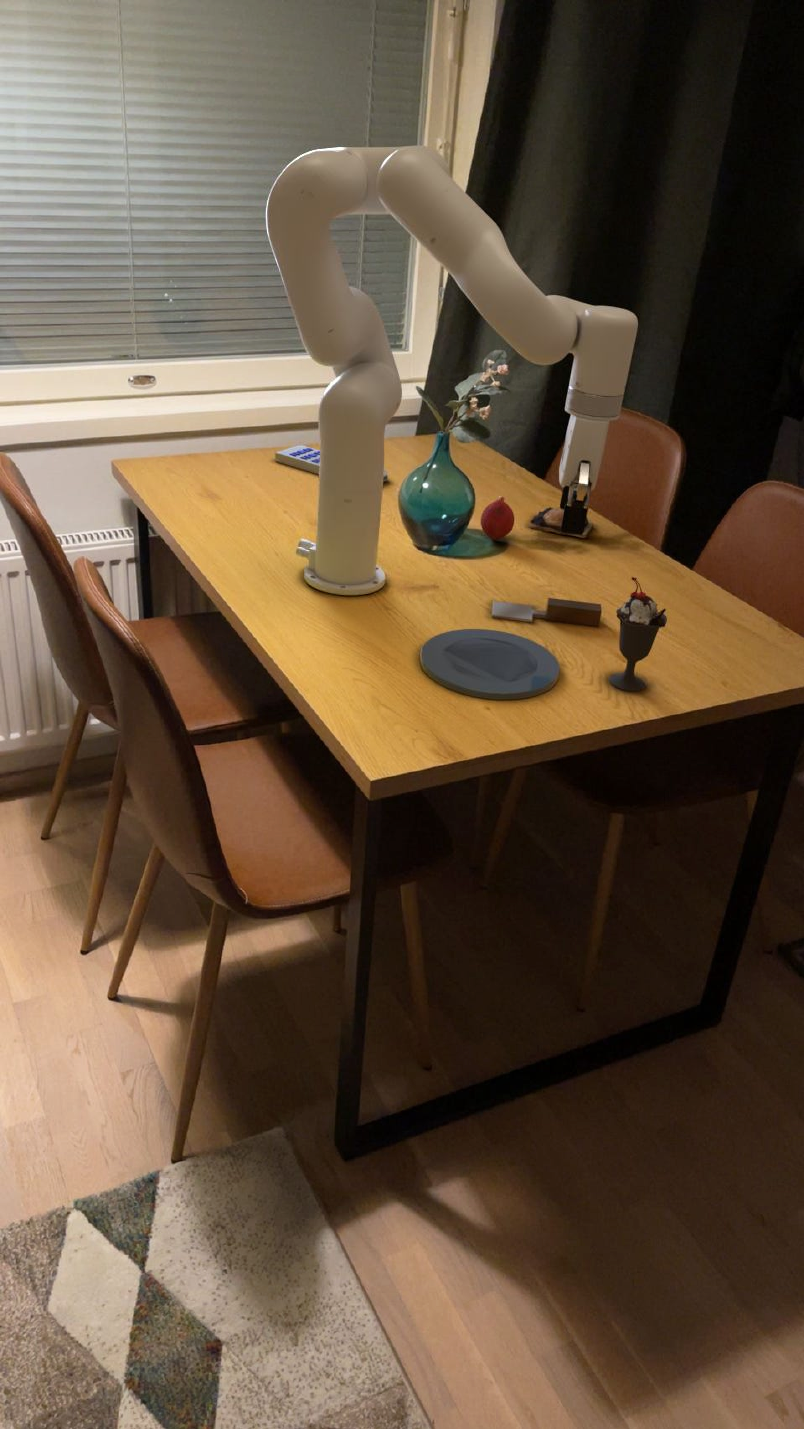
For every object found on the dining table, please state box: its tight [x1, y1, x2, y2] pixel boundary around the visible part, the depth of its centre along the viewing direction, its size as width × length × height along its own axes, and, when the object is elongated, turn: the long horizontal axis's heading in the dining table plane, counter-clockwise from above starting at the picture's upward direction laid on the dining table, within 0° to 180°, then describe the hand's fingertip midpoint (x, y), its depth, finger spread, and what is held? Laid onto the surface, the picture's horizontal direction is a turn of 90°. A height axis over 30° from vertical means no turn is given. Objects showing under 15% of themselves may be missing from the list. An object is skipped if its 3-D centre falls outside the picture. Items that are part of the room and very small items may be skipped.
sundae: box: [608, 576, 668, 692], centre depth 149 cm, size 7×7×15 cm
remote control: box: [274, 444, 389, 483], centre depth 220 cm, size 8×23×2 cm, turn 56°
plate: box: [419, 628, 560, 701], centre depth 153 cm, size 19×19×1 cm
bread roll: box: [528, 506, 594, 539], centre depth 203 cm, size 11×8×4 cm
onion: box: [480, 495, 515, 542], centre depth 193 cm, size 6×6×8 cm
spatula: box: [491, 597, 603, 628], centre depth 168 cm, size 16×5×3 cm, turn 84°
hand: (570, 521), depth 162 cm, fingers open, 9 cm apart
